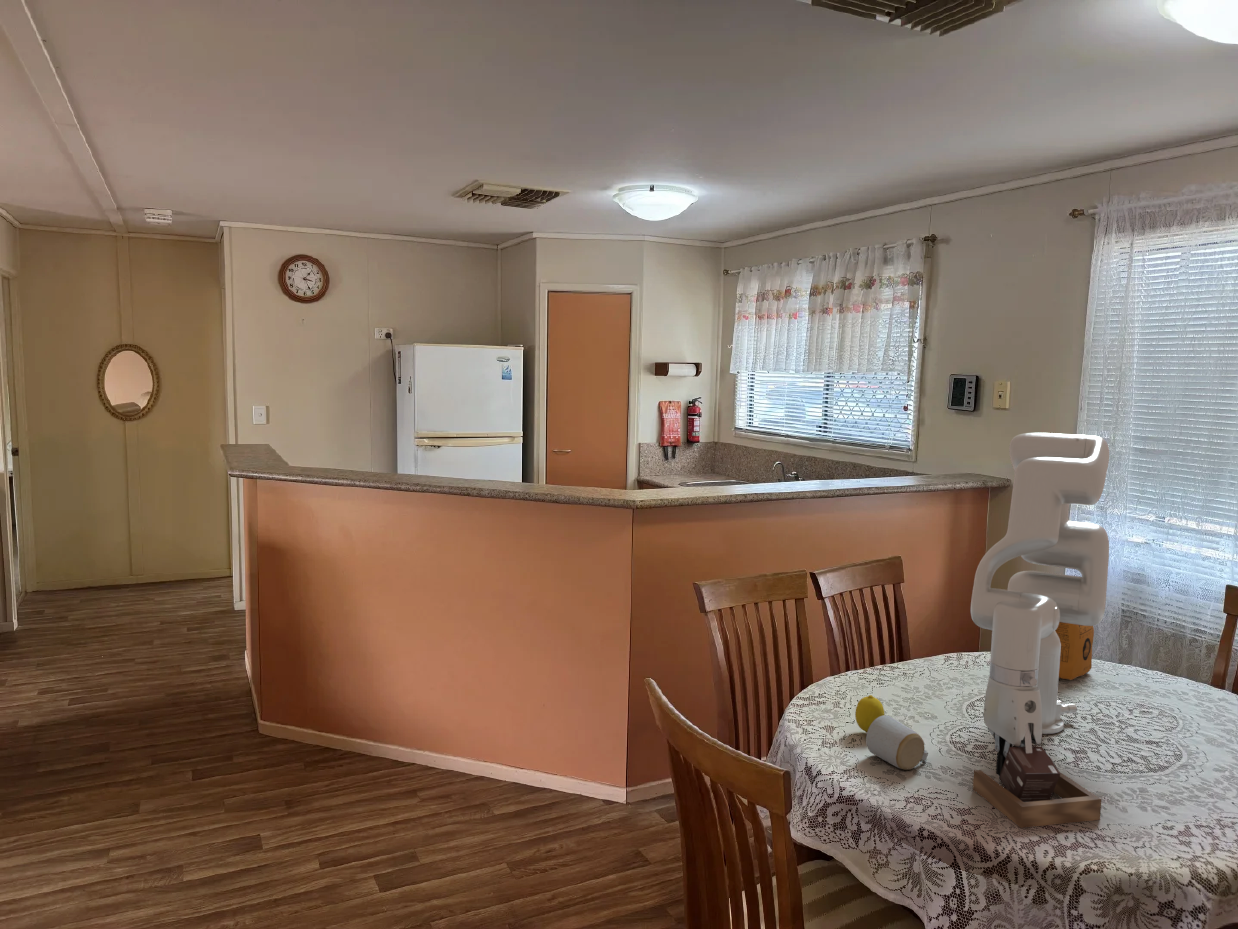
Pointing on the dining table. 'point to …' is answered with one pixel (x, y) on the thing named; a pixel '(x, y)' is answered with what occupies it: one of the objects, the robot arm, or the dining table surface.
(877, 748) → the ceramic mug
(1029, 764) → the box
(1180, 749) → the dining table surface
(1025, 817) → the bay
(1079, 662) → the coffee package
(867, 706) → the lemon
